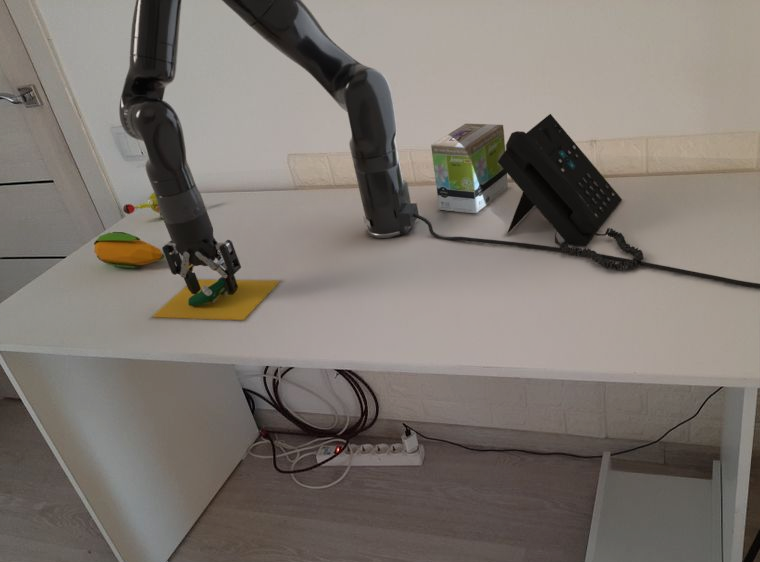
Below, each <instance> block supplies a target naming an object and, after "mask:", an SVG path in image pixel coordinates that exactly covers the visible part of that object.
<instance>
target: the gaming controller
mask: <svg viewBox="0 0 760 562" xmlns="http://www.w3.org/2000/svg"><path fill="white" fill-rule="evenodd" d="M222 278H223V277H222V276H221V277H219V278H218V279H217V280H218V281H217V282H216V283H214V284H213V285H211V286H210V287H207V286H205V285H203V286H202V290H201V292H199V293H197V294H195V295H193V296H191V297H190V298H189V300H188V304H189V306H200V305H204V304H206V303H209V302H213V303H215V302H216V301H217V299H216V298H217V296H218V295H220V294H221V295H227V294H228V293H227V290H226V287H225V285H224V282H223V279H222Z"/></svg>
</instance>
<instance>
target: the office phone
mask: <svg viewBox="0 0 760 562" xmlns="http://www.w3.org/2000/svg"><path fill="white" fill-rule="evenodd" d="M498 163H499V164H500V165H501V166H502V167H503V169H504V170H505V171H506V172H507V176H509V177H510V178H511V179H512V181H513V182H514V183H515V184H516V185H517V187H518V188H519V189H520V190H521V191H522V194H521V196H520V198H519V201H518V204H517V206H516V209H515V212H514V214H513V216H512V220H511V222H510V224H509V227H508V230H507V233H506V235H508V234H509V233H510V232H511V231H512V230H513V229H514V228H515V227H516V226H517V225H518V224H519V223H520V222H521V221H522V220H523V219H524V218H525V217H526V216H527V214H529V213H530V211H531V210H532V209H533V208H534V207H536V209H537V210H538V211H539V212H540V213H541V215H542V216H543V217H544V218H545V219H546V220H547V222H548V223H549V224H550V225H551V226H552V228H553V229H555V232H556V233H557V234H558V235H560V237H561V238H562V239H563V241H562V242H560V241H559V239H558V238H557V234H554V235H555V236H554V244H556V245H557V246H558V247H559V248H561V250H562V251H563V252H562V253H563V254H565V255H570V256H572V255H575V257H577V256H580V257H584V258H585V257H586V258H588V259H591V260H592V261H594V262H595V263H597V265H599V266H601V267H602V268H604V269H607V270H615V271H623V270H632V269H636V268H637V267H639V266H640V265H639V262H641V261H643V260H644V252H643V251H642V250H641V249H639V247H635V246H631V245H630V244H629V243H627V241H626V239H625V236H624V234H623V233H622V232H619V231H617V230H615V229H614V228H611V227H607V229H606V230H605V233H598V231H599V230H600V228H601V227H602V225H603V224H604V223H605V222H606V221H607V219H608V218H609V217H610V216H611V214H612V213H613V212H614V211H615V209H616V208H617V207H618V206H619V204H620V203H621V202H622V201H623V199H622V197H621V196H620V195H619V193H618V192H616V190H615V189H614V188H613V187H612V186H611V184H610V183H609V182H608V181H607V179H606V178H605V177H604V176H603V175H602V174H601V172H600V171H599V170H598V169H597V167H596V166H595V165H594V164H593V163H592V162H591V160H590V159H589V158H588V156H586V154H585V153H584V152H583V151H582V150H581V148H580V147H579V146H578V145H577V144H576V142H575V141H574V140H573V139H572V137H571V136H570V135H569V134H568V132H566V131H565V129H564V128H563V127H562V126H561V125H560V123H559V122H558V121H557V119H555V117H554V116H553V115H552V114H551V113H549V114H548V115H546V116H545V117H544V118H543V119H542V120H541V121H540V122H538V123H537V124H535V125H534V126H533V127H532V128H531V129H529V130H528V131H517V130H516V131H514V132H511V133H510V135H509V137H508V140H507V142H506V143H505V152H504V153H503V155H502V156H501V158H500V159H499V160H498ZM594 236H599V237H603V236H604V237H605V236H607V237H609V238H613V239H614V240H615V242H616V244H617V246H618V247H619V249H621V250H622V252H625V253H626V254H629V255H631V256H632V259H631V260H630V261H628V260H627V261H626V262H625V263H624V262H622V261H620V262H619V261H618V262H617V261H613V260H609V259H605V258H603V257H602V255H599V254H600V253H597V251H595V250H592V248H589V247H588V248H587V246H588V245H589V243H590V242H591V241H592V239H593V238H594ZM570 246H571V247H570ZM581 247H585V248H581ZM564 249H565V251H564ZM580 251H581V254H580ZM574 252H575V253H574ZM637 261H638V262H637Z"/></svg>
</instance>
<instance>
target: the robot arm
mask: <svg viewBox="0 0 760 562" xmlns="http://www.w3.org/2000/svg"><path fill="white" fill-rule="evenodd" d="M221 1H222V2H223V3H224V4H225V5H226V6H227V7H228V8H229V9H230V10H231V11H232V12H234V13H235V14H236V15H237V16H238V17H239V18H240V19H241V20H243V22H245V24H246V25H248V26H249V27H250V28H251V29H252V30H253V31H255V32H256V33H257V34H258V35H259V36H260V37H262V39H264V40H265V41H266V42H267V43H269V45H271V46H272V47H273V48H275V49H276V50H277V51H279V52H280V53H281V54H283V55H284V56H285V57H287V58H288V59H290V60H291V61H292V62H294V63H295V64H297V65H298V66H300V67H301V68H302V69H303V70H305V71H306V72H307V73H308V74H310V76H312V77H313V79H314V80H316V82H317V83H318V84H319V85H320V86H321V87H322V88H323V89H324V90H325V91H326V93H328V94H329V96H330V97H331V98H332V100H334V101H335V102H336V104H337V105H338V106H339V107H340V108H341V109H342V110H344V111H345V112H347V116H348V121H349V126H350V132H351V138H349V142H348V146H349V150H350V155H351V158H352V164H353V168H354V172H355V175H356V176H355V178H356V182H357V186H358V191H359V194H360V201H361V203H362V208H363V213H364V216H362V217H363V222H364V224H365V225H366V228H367V232H368V235H369V236H370V237H372V238H376V239H390V238H394V237H395V238H396V237H398V236H406V235H407V234H408V232H409V231H410V229H411V228H412V227H413V225H414V224H415V223H416V221H417V219H418V220H420V221H422V222H423V223H425V224H426V225H427V227H428V231H429V233H430V235H431V236H432V237H434V238H436V239H438V240H443V241H465V242H473V243H481V244H482V243H483V244H491V245H492V244H493V245H502V246H511V247H519V248H521V247H522V248H528V249H535V250H544V251H552V252H559V253H564V252H563V251H562V250H561V248H560V247H559V246H557V247H556V246H549V245H543V244H534V243H528V242H527V243H526V242H517V241H507V240H497V239H488V238H478V237H467V236H442V235H440V234H438V233H436V232H435V231H434V229H433V225H432V223H431V222H430V221H429V219H428V218H426V217H424V216H422V215H420V213H419V208H418V203H416V202H411V196H410V191H409V185H408V181H407V180H404V178H403V174H402V167H401V163H400V157H399V152H398V151H399V150H398V146H397V134H398V133H397V131H398V129H397V128H398V126H397V120H396V113H395V105H394V100H393V95H392V94H393V93H392V90H391V86H390V84H389V81H388V79H387V77H386V76H385V75H384V74H383V73H382V72H381V71H380V70H378V69H376V68H373V67H370V66H367V65H364V64H363V63H361V62H359V61H358V60H356V59H355V58H354V57H352V56H351V55H350V54H349V53H347V52H346V51H345V50H344V49H342V48H341V46H339V45H338V44H336V43H335V42H334V41H333V40H332V38H330V36H329V35H328V34H327V33H326V31H324V29H323V27H322V26H321V25H320V22H319V21H318V20H317V18H316V17H315V15H314V14H313V13H312V11H311V10H310V9H309V8H308V6H306V4H305V3H304V2H303V0H221ZM182 2H183V1H182V0H135V4H134V9H133V15H132V22H131V29H130V31H131V32H130V45H129V66H128V71H127V74H126V77H125V78H124V84H123V87H122V91H121V95H120V100H119V106H118V107H119V108H118V113H119V121H120V125H121V127H122V128H123V131H124V132H125V133H126V134H127V135H128V136H129V137H131V138H133V139H135V140H137V141H141V142H143V143H144V146H145V150H146V153H147V157H148V159H147V161H146V162H145V172H146V176H147V178H148V180H149V183H150V185H151V186H150V187H151V188H152V191H153V193H155V196H156V199H157V203H158V207H159V210H160V212H161V215H162V217H163V219H162V220H163V222H164V225H165V227H166V230H167V233H168V235H169V237H170V241H168V242H167V243H165V244H164V245H163V246H162V251H163V252H162V253H163V255H164V258H165V260H166V262H167V264H168V268H169V271H170V273H171V274H172V275H174V276H175V275H179V276H180V277H181V278H183V280H184V282H185V285H186V286H187V287H188V289H189V291H191V294H197V293H198V292H199V291H200V290H201V287H200V285H199V282H198V280H199V279H198V277H197V275H196V273H195V272H194V269H195V267H199V266H201V267H202V266H203V267H209V268H210V270H212V271H216V272H217V273H218V275H220V276H221V277H223V278H222V279H223V282H224V285H225V287H226V290H227V293H228V294H229V295H233V294H234V293H235V292H236V291H237V288H238V285H237V282H236V280H237V279H236V276H235V274H237V272H239V270H241V268H242V265H241V263H240V259H239V257H238V254H237V251H236V250H235V247H234V244H233V242H232V240H230V239H227V240H225V241H223V242H219V241H218V240H216V238H215V237H214V227H213V224H212V221H211V219H210V216H209V213H208V210H207V207H206V205H205V202H204V200H203V197H202V194H201V192H200V190H199V189H198V186H197V184H196V181H195V179H194V176H193V174H192V170H191V167H190V164H189V163H188V159H187V150H186V149H187V148H186V142H185V136H184V130H183V126H182V123H181V120H180V118H179V116H178V114H177V112H176V111H175V109H174V108H173V106H172V105H171V104H169V103H168V102H167V101H165V100H164V96H165V91H166V88H167V86H168V85H171V84H172V83H173V82H174V81H175V78H176V73H177V65H178V51H179V40H180V38H179V37H180V26H181V25H180V24H181V13H182V12H181V11H182ZM564 251H565V249H564ZM574 253H575V252H574ZM580 254H581V251H580ZM598 254H599V255H602V257H603V258H605V259H609V261H612V262H614V261H615V262H618V263H619V262H620V261H622V262H624V263H625V262H626V261H627V260H628V261H630V260H632V259H631V258H624V257H619V256H614V255H610V254H609V255H608V254H603V253H598ZM181 257H182V258H181ZM215 260H217V262H215ZM637 262H638V261H637ZM639 266H640V267H645V268H650V269H657V270H661V271H667V272H670V273H671V272H672V273H677V274H682V275H686V276H691V277H695V278H701V279H706V280H712V281H716V282H722V283H727V284H731V285H737V286H741V287H748V288H754V289H755V288H756V289H760V283H758V282H751V281H744V280H740V279H739V280H738V279H733V278H730V277H729V278H728V277H724V276H719V275H714V274H709V273H703V272H698V271H693V270H688V269H683V268H677V267H672V266H668V265H661V264H657V263H651V262H646V261H643V260H641V262H639Z"/></svg>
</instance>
